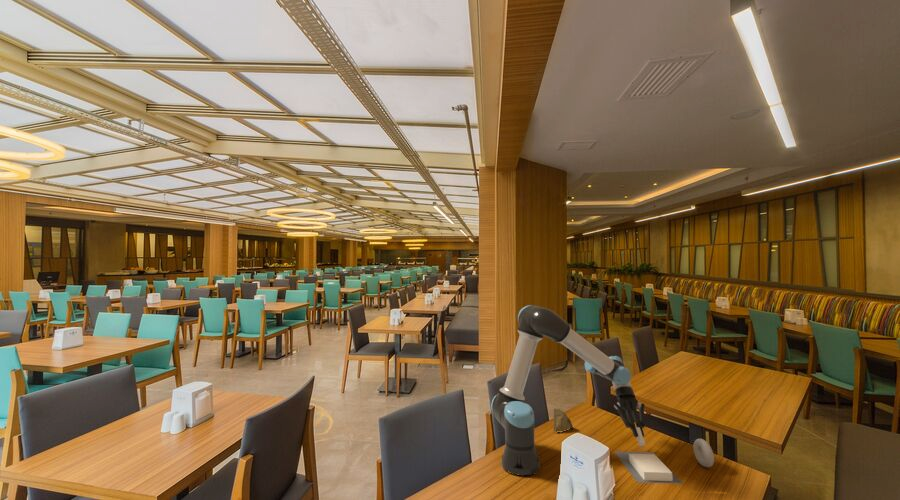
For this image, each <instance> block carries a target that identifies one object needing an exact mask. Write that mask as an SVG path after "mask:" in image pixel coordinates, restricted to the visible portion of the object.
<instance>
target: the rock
mask: <svg viewBox="0 0 900 500" xmlns="http://www.w3.org/2000/svg"><path fill="white" fill-rule="evenodd" d="M553 419H554V422H553V432H554V431H555V432H557V431H564V430H567V429H569V428H573V429H574V426H573V424H572V422H571V419H570V418H569V417H568V415H567V413H566V412H564V411H563V410H562V409H559V408H554V409H553Z"/></svg>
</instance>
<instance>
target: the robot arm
mask: <svg viewBox="0 0 900 500" xmlns="http://www.w3.org/2000/svg"><path fill="white" fill-rule="evenodd" d="M517 322H518V327H517V332H518V335H519V336H518V340H517V343H516V346H515V349H514V353H513V357H512V359H511V363H510V365H509V369H508V372H507V376H506V379H505V382H504V385H503V387H500V388H499V390H498V392H497V394H496V395H494V397H493V398H492V401H491V406H490V409H491V413H492V415H493V417H494V419H495V420H496V421H497V422H498V423H499V424H500V425H501V426H502V427H503V429H504V434H505V435H504V436H505V440H504V441H505V443H504V444H505V446H504V450H503V453H502V456H501V467H502V466H503V467H502V469H503V468H504V469H505V470H507V471H509V472H511V473H513V474H519V475H531V474H534V473H536V472H537V471H538V470H539V471H540V469H541V466H540V465H541V464H540V463H541V462H540V458H539V457H538V452H537V450H536V446H535V414H534V410H533V408H532V406H530V404H528V403H525V400H526V397H525V396H524V390H525V387H526V383H527V380H528V376H529V374H530V370H531V367H532V363H533V361H534V356H535V353H536V350H537V347H538V343H539V342H540V341H542V340H543V339H544V337H545V338H548V339H550V340H552V341H553V342H554V343H556V344H558V343H559V344H561V345H563V346H564V347H565V348H567V349H568V350H570V351H571V352H572V353H574V354H575V355H576V356H578V357H579V359H580V358H581V359H582V360H583V361H584V369H585V371H586V372H588V373H590V374H595V375H598V376H600V377H602V378H604V379H607V380H609V381H611V383H612V386H613V390H614V392H615V396H616V399H617V402H615V403H614V405H613V408H614V409H615V410H616V411H617V413H618V414H619V416H620V418H621V421H622V422H623V424H624V425H625V427H626V428H627V429H630V430H631V431H632V434H633V437H635V438H636V440H637V443H638V446H639V447H644V446H646V442H645V439H644V437H645V432H644V430H643V429H644V428H645V426H646V418H645V417H646V416H645V409H644V408H645V403H640V402H639V400H638V399H637V398H636V395H635V392H634V390H633V386H632V384H631V380H632V374H631V372H630V370H629V369H628V368H626V366H625V364H624V362H623V360H622V358H621V357H620V356H619V355H614V356H613V355H611V356H608V355H606V354H605V353H604V352H603V351H601V350H600V349H599V348H597V347H596V346H595V345H593V344H592V343H591V342H589V341H588V340H587V339H585V338H584V337H583V336H582V335H580V334H579V333H578V332H576V331H575V330H574V329H572V328H571V327H572V326H571V324H570V323H568V322H567V321H565V320H564V319H563V318H562V317H561V316H559V315H558V314H557V313H556V312H555V311H553V310H552V309H549V308H546V307H543V306H540V305H539V306H538V305H535V304H534V305H533V304H532V305H531V304H530V305H526V306H524V307H522V308H521V309H520V310H519V312H518V315H517ZM637 408H638V409H639V410H638V411H637ZM638 412H639V414H638ZM539 468H540V469H539ZM504 469H503V470H504ZM505 470H504V471H505ZM507 471H506V472H507ZM539 471H538V472H539ZM538 472H537V473H538ZM537 473H536V474H537ZM513 474H512V475H513ZM534 475H535V474H534ZM531 476H532V475H531Z"/></svg>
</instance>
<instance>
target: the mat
mask: <svg viewBox="0 0 900 500" xmlns="http://www.w3.org/2000/svg"><path fill="white" fill-rule="evenodd" d="M614 454H615V455H616V456H617V458H618V459H619V460H620V461H621V463H622V465H624V467H625V468H626V469H627V470H628V472H629V473H630V474H631V476H632V477H633V479H634V480H635V481H636V482H637V484H673V485H674V484H675V485H676V484H677V485H678V484H679V485H684V483H683V482H682V480H681V479H679V477H677V476H676V475H675V474H674V473H673V472H672V478H673V481H645V480H644V479H643V478H642V477H641V476H640V474H639V473H638V472H637V471H636V469H635V468H634V467H633V466H632V464H631V463H630V462H629V454H655V453H654V452H650V451H649V452H647V451H645V452H644V451H614ZM657 458H658V459H659V460H660V461H661V462H662V463H663V464H664V465H665V466H666V467H667V468H668V469H669V470H670V468H669V467H668V466H667V465H666V464H665V463H664V462H663V461H662V460H661V459H660V458H659V457H658V456H657Z"/></svg>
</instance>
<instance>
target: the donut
mask: <svg viewBox="0 0 900 500" xmlns="http://www.w3.org/2000/svg"><path fill="white" fill-rule="evenodd" d="M692 445H693V446H692V447H693V455H694V456H695V459H696V461H697V462H698V463H699V465H701V466H702V467H704V468H711V467H712V466H713V465H714V461H715V456H714V452H713V449H712V447H711V446H710V443H708V442H707V441H706V440H705V439H703V438H696V439H695V440H694V442H693V444H692Z"/></svg>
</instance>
